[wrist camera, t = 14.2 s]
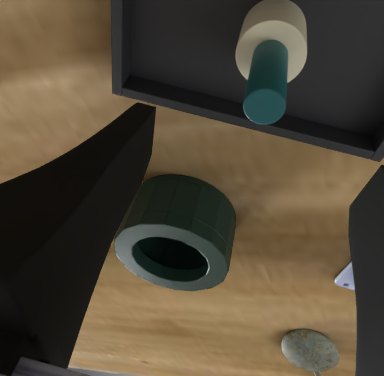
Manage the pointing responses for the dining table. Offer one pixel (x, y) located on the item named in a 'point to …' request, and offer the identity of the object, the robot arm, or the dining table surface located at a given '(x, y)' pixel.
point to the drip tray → (236, 83)
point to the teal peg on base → (270, 56)
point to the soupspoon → (310, 351)
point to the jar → (177, 233)
